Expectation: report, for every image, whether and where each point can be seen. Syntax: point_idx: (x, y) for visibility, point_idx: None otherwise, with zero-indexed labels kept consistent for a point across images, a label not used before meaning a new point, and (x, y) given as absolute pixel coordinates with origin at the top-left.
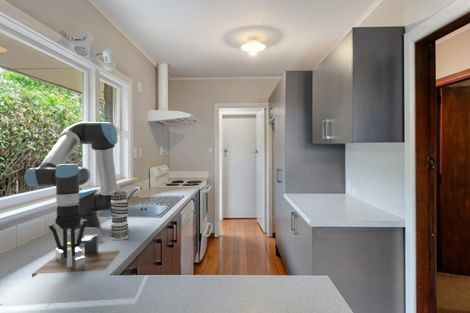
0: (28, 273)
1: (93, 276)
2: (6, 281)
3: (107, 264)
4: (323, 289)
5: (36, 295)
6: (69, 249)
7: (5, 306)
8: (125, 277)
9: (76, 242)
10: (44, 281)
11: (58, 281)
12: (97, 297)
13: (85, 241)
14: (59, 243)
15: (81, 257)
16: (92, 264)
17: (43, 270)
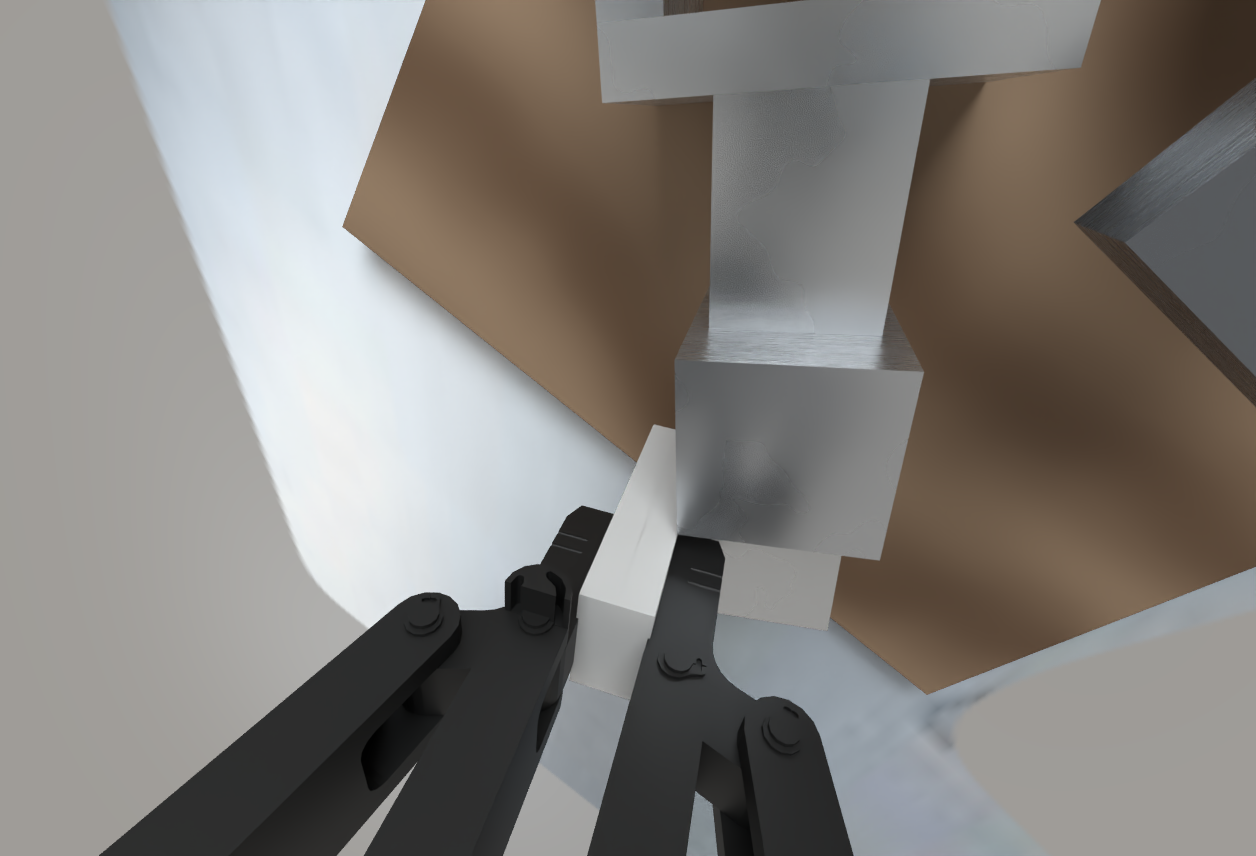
0: (314, 51)
1: (812, 640)
2: (168, 140)
3: (1050, 625)
4: None
5: (433, 580)
6: (604, 681)
7: (306, 566)
8: (965, 811)
9: (735, 776)
10: (473, 422)
11: (567, 509)
12: (695, 815)
13: (1250, 375)
14: (373, 790)
15: (785, 616)
16: (939, 501)
17: (443, 220)
